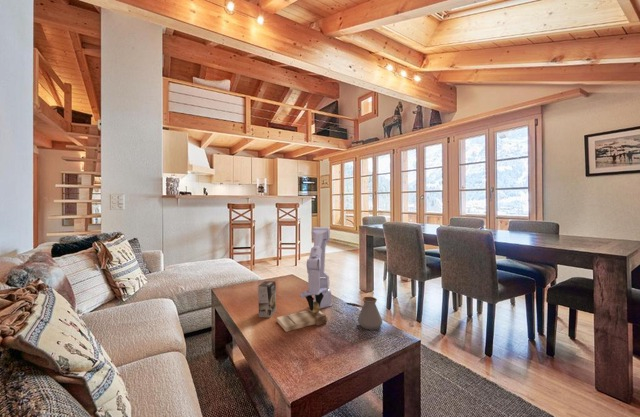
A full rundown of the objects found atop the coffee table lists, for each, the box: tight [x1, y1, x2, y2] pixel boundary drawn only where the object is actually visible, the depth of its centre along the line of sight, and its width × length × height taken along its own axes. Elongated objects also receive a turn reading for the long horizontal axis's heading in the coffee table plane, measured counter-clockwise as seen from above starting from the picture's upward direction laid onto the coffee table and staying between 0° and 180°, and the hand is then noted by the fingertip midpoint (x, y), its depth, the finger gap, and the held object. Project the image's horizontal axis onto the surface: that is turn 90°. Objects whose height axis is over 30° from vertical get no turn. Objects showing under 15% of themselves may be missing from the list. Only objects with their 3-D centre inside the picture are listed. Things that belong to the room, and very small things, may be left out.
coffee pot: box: [343, 296, 383, 331], centre depth 123 cm, size 21×12×15 cm, turn 129°
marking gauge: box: [306, 300, 327, 326], centre depth 134 cm, size 5×13×8 cm, turn 29°
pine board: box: [276, 309, 329, 333], centre depth 132 cm, size 22×12×2 cm, turn 119°
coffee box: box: [257, 280, 277, 319], centre depth 141 cm, size 9×6×16 cm
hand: (314, 309), depth 134 cm, fingers closed on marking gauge, 3 cm apart
